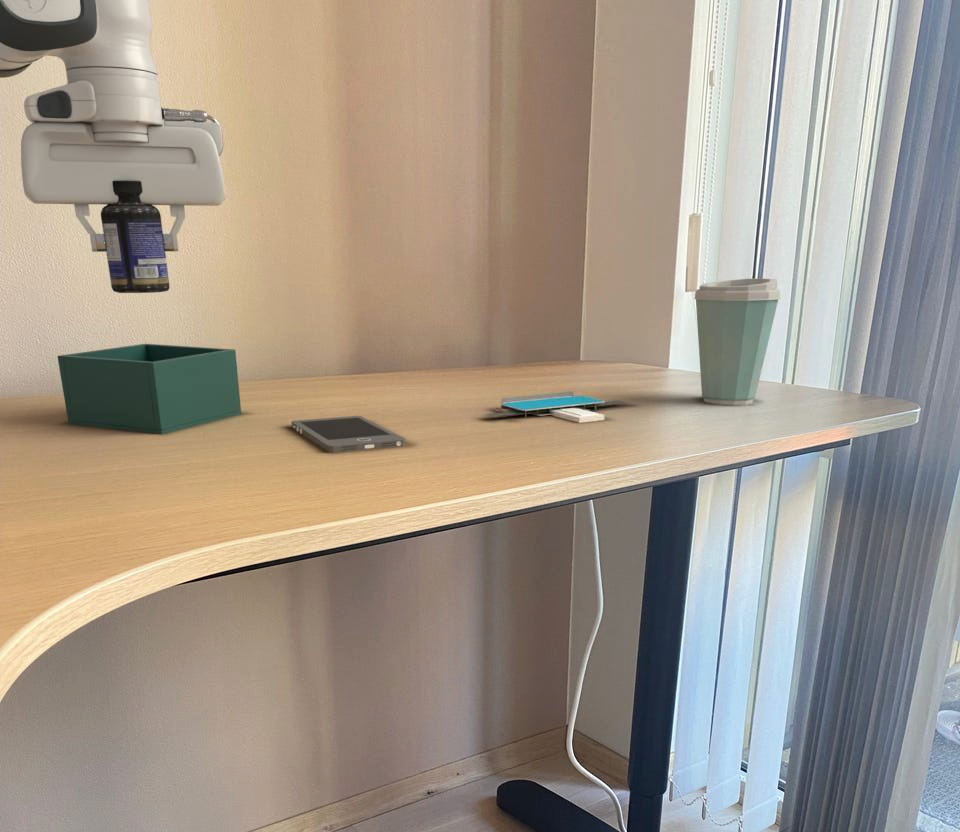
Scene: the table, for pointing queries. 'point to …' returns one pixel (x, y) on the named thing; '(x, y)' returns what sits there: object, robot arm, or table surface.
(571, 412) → the teal tabletop platform
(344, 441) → the smartphone
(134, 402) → the open box
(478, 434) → the table surface
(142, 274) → the pill bottle
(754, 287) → the disposable coffee cup
